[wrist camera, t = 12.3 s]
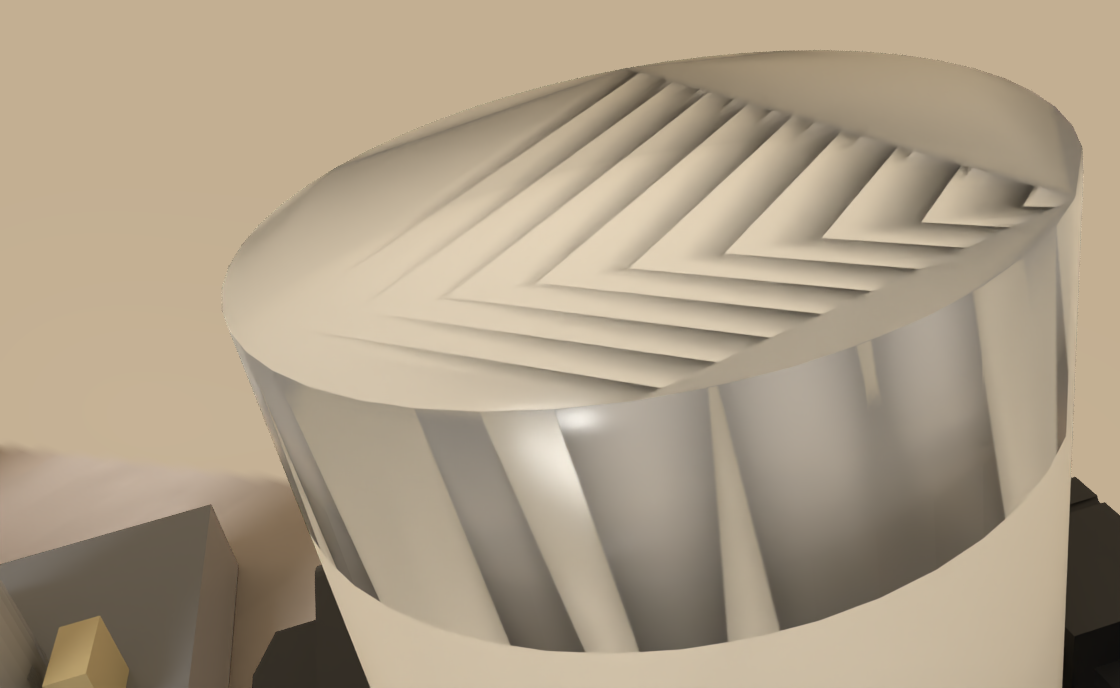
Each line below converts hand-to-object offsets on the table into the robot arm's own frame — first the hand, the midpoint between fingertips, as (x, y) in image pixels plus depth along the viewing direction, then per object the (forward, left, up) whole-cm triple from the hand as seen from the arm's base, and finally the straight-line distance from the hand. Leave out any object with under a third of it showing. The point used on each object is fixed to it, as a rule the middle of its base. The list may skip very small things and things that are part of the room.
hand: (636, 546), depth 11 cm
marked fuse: (0, -3, -7) cm, 7 cm away
